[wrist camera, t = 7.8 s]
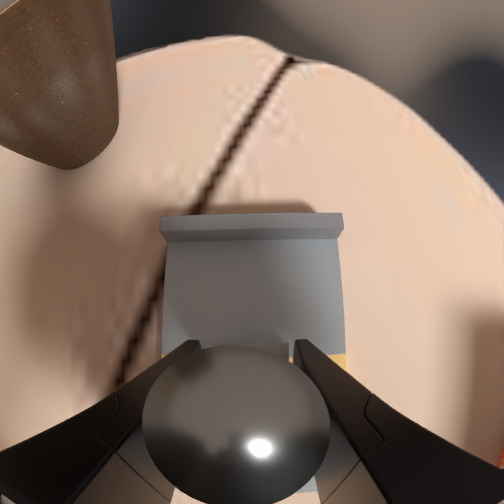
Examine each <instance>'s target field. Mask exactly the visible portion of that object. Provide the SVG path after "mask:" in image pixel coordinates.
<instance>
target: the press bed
mask: <svg viewBox="0 0 504 504" xmlns="http://www.w3.org/2000/svg"><path fill="white" fill-rule="evenodd" d="M343 229H344V224H343V217H342V213H244V214H209V215H184V216H164V217H161V223H160V233H161V234H162V235H163V236H164V238H165V239H166V240H167V241H168V247H167V257H166V269H165V282H164V297H163V317H162V349H161V359H162V358H163V357H164V356H166V355H167V354H168V353H170V352H171V351H173V350H174V349H175V348H177V347H178V346H179V345H181V344H182V343H184V342H185V341H186V340H189V339H191V340H199V341H200V343H201V348H202V349H205V348H209V347H214V343H288V342H289V362H291V363H293V351H294V342H295V340H296V339H308V340H309V341H310V342H311V343H313V344H314V345H315V346H316V347H317V348H319V349H320V350H321V351H322V352H323V353H324V354H326V355H327V356H328V357H329V358H330V359H332V360H333V361H334V362H335V363H336V364H338V365H339V366H340V367H341V368H342V369H344V370H345V371H346V347H345V325H344V308H343V294H342V282H341V271H340V261H339V252H338V243H337V238H338V237H339V235H340V234H341V232H342V230H343ZM175 488H176V487H175ZM312 491H318V490H317V485H316V481H315V477H314V476H313V477H312V478H311V480H310V481H309V482H308V483H307V484H305V485H304V486H303V487H302V488H301V489H300V490H298V491H297V492H295V493H302V492H312Z"/></svg>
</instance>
